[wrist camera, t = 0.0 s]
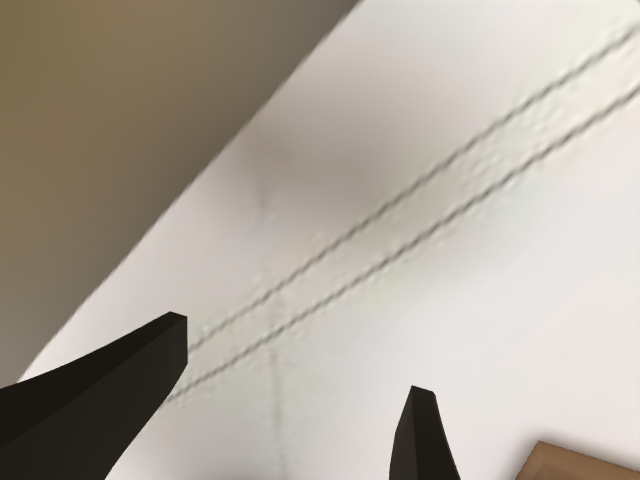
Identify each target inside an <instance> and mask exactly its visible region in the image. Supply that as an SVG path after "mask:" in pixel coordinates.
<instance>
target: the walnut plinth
mask: <svg viewBox="0 0 640 480" xmlns="http://www.w3.org/2000/svg"><path fill="white" fill-rule="evenodd" d="M515 480H640V472H638V471H635V470H631V469H628V468H625V467H622V466H618V465H615V464H612V463H609V462H606V461H602V460H599V459H596V458H593V457H589V456H586V455H583V454H580V453H577V452H573V451H570V450H567V449H564V448H560V447H557V446H554V445H551V444H547V443H544V442H541V441H538V443H537V444H536V446H535V448H534V449H533V451H532V453H531V454H530V456H529V458H528V459H527V461H526V463H525V464H524V466H523V467H522V469H521V471H520V472H519V474H518V476H517V477H516V479H515Z"/></svg>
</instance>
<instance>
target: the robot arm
mask: <svg viewBox="0 0 640 480" xmlns="http://www.w3.org/2000/svg"><path fill="white" fill-rule="evenodd" d="M187 364H188V350H187V316H184V315H180V314H177V313H174V312H171V311H170V312H168V313H166V314H164V315H162V316H160V317H158V318H157V319H155V320H153V321H151V322H149V323H147V324H146V325H144V326H142V327H140V328H138V329H136V330H134V331H133V332H131V333H129V334H127V335H125V336H123V337H121V338H119V339H117V340H115V341H114V342H112V343H110V344H108V345H106V346H104V347H102V348H100V349H97V350H95V351H93V352H91V353H89V354H87V355H85V356H83V357H81V358H79V359H76V360H74V361H72V362H70V363H68V364H65V365H63V366H61V367H58V368H56V369H54V370H51V371H49V372H46V373H43V374H41V375H38V376H36V377H33V378H31V379H28V380H25V381H22V382H19V383H16V384H13V385H10V386H7V387H4V388H1V389H0V480H105V478H106V477H107V475H108V474H109V472H110V471H111V469H112V468H113V466H114V465H115V463H116V462H117V461H118V459H119V458H120V456H121V455H122V454H123V452H124V451H125V450H126V449H127V447H128V446H129V445H130V443H131V442H132V441H133V440H134V438H135V437H136V436H137V435H138V433H139V432H140V431H141V430H142V428H143V427H144V426H145V424H146V423H147V422H148V421H149V419H150V418H151V417H152V416H153V414H154V413H155V412H156V410H157V409H158V408H159V407H160V405H161V404H162V403H163V401H164V400H165V399H166V398H167V396H168V395H169V394H170V392H171V391H172V389H173V387H174V386H175V384H176V383H177V381H178V379H179V378H180V376H181V374H182V373H183V371H184V369H185V367H186V366H187ZM389 480H461V479H460V476H459V474H458V471H457V468H456V465H455V462H454V459H453V457H452V454H451V451H450V448H449V445H448V442H447V438H446V435H445V432H444V428H443V425H442V421H441V418H440V414H439V410H438V405H437V401H436V396H435V394H434V393H433V392H432V391H429V390H426V389H423V388H419V387H416V386H413V385H412V386H411V389H410V392H409V395H408V398H407V400H406V403H405V406H404V409H403V412H402V415H401V418H400V420H399V423H398V426H397V429H396V432H395V438H394V444H393V450H392V456H391V463H390V472H389Z"/></svg>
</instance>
